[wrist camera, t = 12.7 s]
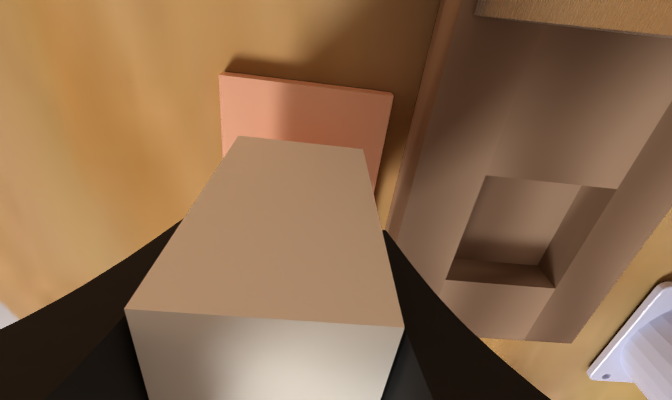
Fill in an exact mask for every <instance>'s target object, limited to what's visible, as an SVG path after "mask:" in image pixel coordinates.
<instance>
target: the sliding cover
mask: <svg viewBox="0 0 672 400" xmlns="http://www.w3.org/2000/svg"><path fill="white" fill-rule="evenodd" d="M474 15H478V16H485V17H492V18H498V19H505V20H512V21H520V22H529V23H538V24H546V25H555V26H564V27H573V28H582V29H590V30H599V31H608V32H617V33H626V34H634V35H643V36H652V37H661V38H669V39H672V0H478V2H477V5H476V9H475V12H474Z"/></svg>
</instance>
